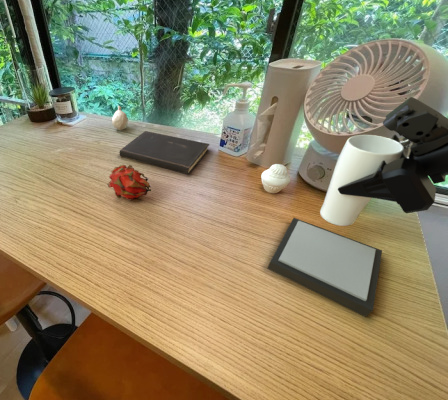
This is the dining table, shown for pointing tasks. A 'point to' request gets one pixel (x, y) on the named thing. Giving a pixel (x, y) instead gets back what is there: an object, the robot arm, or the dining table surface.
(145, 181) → the dragon fruit
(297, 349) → the dining table surface
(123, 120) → the garlic bulb
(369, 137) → the white cup
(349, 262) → the scale
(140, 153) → the hardcover book
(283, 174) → the muffin
